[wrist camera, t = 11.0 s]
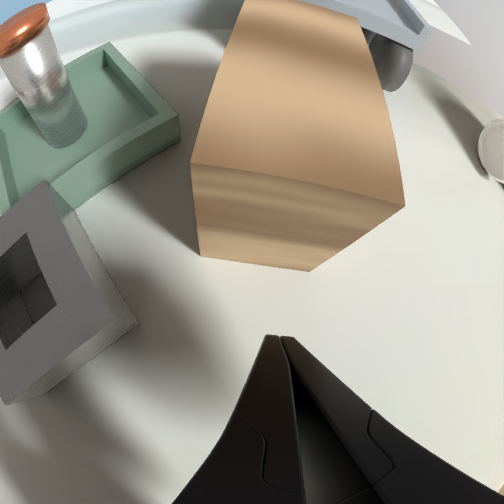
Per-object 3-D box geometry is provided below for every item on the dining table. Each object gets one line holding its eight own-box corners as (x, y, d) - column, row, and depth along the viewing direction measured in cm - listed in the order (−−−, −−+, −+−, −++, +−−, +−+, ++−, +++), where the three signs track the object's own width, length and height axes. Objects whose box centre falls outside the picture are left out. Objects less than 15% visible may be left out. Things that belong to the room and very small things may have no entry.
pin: (54, 160, 15) (-16, 55, 5) (42, 131, 15) (-15, 35, 6) (97, 129, 16) (50, 9, 6) (81, 104, 16) (41, -2, 7)
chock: (308, 272, 16) (405, 206, 7) (200, 256, 15) (190, 162, 7) (312, 113, 19) (357, 18, 11) (232, 98, 19) (248, -9, 10)
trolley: (391, 104, 21) (439, 39, 13) (261, 68, 20) (282, -21, 12) (365, 31, 25) (391, -19, 17) (272, 5, 24) (286, -52, 16)
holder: (44, 394, 12) (5, 405, 8) (-8, 282, 13) (-46, 269, 9) (139, 322, 14) (115, 319, 10) (74, 209, 15) (44, 178, 11)
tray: (28, 247, 14) (7, 235, 11) (0, 138, 15) (-13, 122, 13) (180, 140, 17) (178, 114, 15) (114, 62, 19) (109, 41, 16)
